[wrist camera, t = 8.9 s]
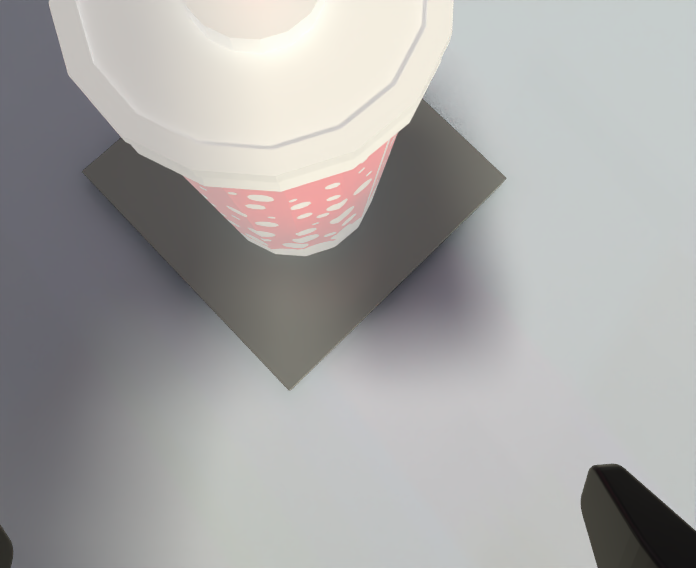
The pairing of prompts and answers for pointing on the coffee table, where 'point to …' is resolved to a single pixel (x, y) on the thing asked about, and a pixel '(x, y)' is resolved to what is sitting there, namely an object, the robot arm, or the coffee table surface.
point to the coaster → (313, 270)
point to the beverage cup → (261, 98)
